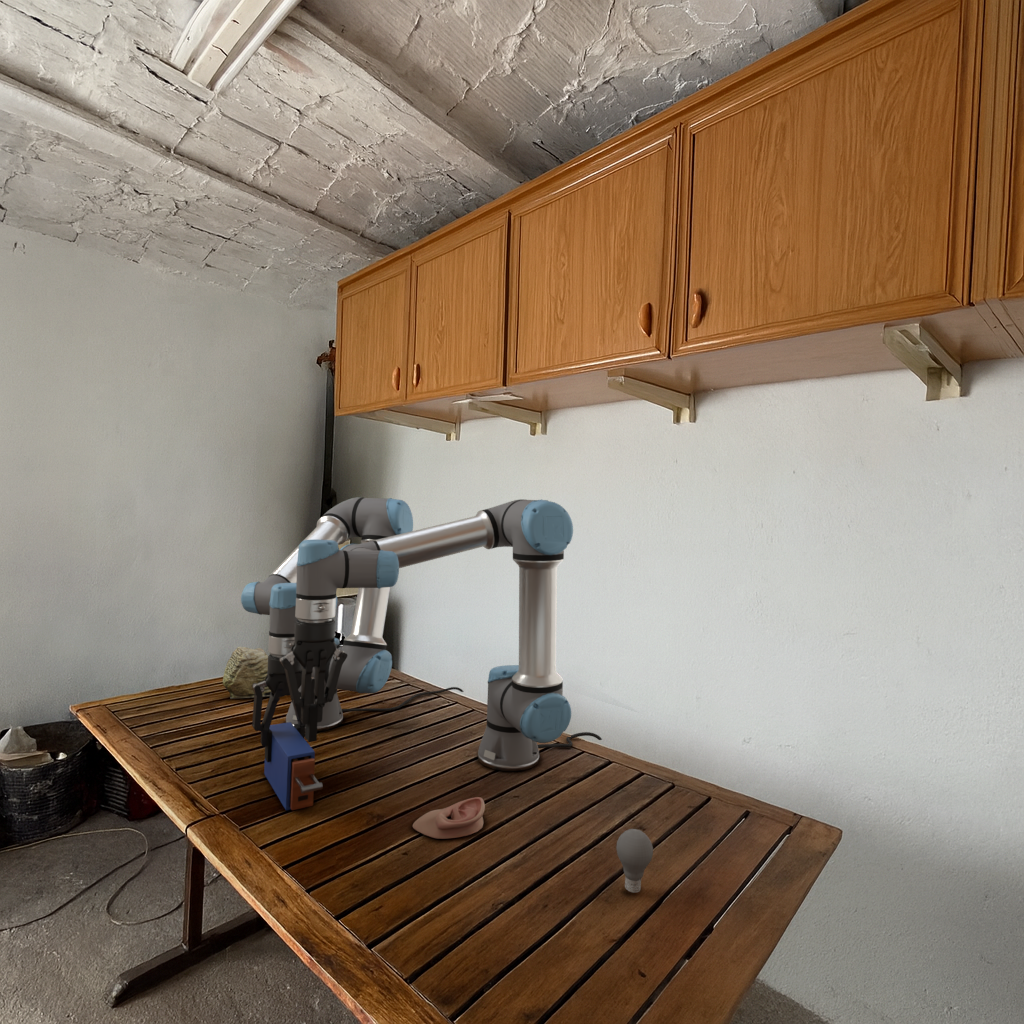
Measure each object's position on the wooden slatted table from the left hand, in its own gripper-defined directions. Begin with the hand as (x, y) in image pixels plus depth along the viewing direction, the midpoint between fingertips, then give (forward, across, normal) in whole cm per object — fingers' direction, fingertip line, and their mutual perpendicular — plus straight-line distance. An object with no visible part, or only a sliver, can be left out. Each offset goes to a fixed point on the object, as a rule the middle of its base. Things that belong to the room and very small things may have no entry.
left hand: (282, 756), depth 141 cm
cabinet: (+5, 0, -5) cm, 7 cm away
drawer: (+4, 0, -11) cm, 12 cm away
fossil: (+5, +7, +64) cm, 64 cm away
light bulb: (+5, +40, -69) cm, 80 cm away
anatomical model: (+5, +23, -36) cm, 43 cm away
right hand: (-11, 0, -20) cm, 23 cm away
